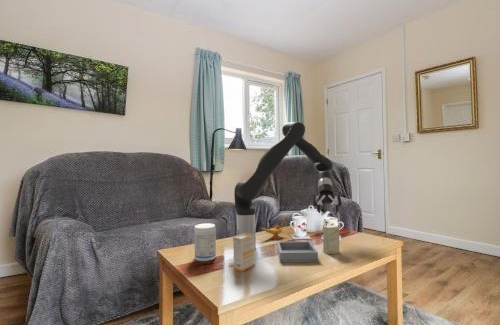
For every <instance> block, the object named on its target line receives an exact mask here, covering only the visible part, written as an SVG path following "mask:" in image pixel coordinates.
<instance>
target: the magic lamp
mask: <svg viewBox="0 0 500 325" xmlns="http://www.w3.org/2000/svg"><path fill="white" fill-rule="evenodd" d="M281 219H282V223H281V225H278V223H276V225H275V226H274V227H271V228H265V227H262V226H260V227H259V228H258V229H262V230H263V231H265V233H268V234H272V236H271V238H272V239H280V238H281V236H280V234H282V233H283V229H284V228H285V227H286V226H287V220H286V216H284V217H282V218H281ZM284 223H285V225H284Z"/></svg>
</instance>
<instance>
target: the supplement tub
mask: <svg viewBox="0 0 500 325" xmlns="http://www.w3.org/2000/svg"><path fill="white" fill-rule="evenodd" d="M193 233H194V234H193V235H194V240H193V241H194V258H195V260H196V261H199V262H210V261H212V260H214V259H215V258H217V242H216V240H217V239H216V237H217V232H216V224H214V223H210V222H209V223H208V222H207V223H199V224H195V225H194V229H193ZM209 260H210V261H209Z"/></svg>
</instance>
